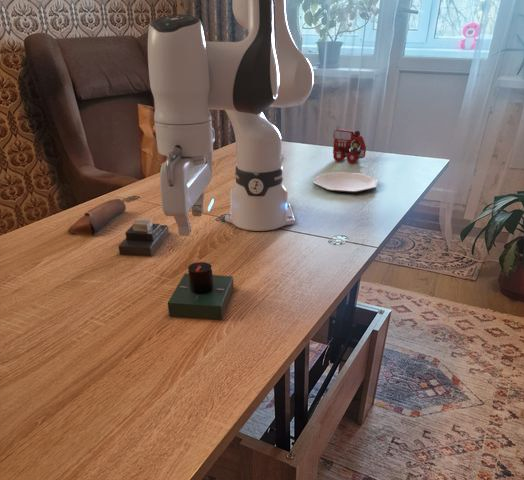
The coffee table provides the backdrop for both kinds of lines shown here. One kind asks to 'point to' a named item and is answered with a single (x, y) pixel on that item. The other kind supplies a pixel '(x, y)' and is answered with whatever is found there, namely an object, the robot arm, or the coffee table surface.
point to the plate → (345, 182)
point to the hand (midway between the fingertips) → (191, 224)
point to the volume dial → (200, 277)
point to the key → (142, 225)
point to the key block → (143, 241)
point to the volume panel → (201, 299)
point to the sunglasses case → (97, 218)
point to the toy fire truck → (348, 146)
